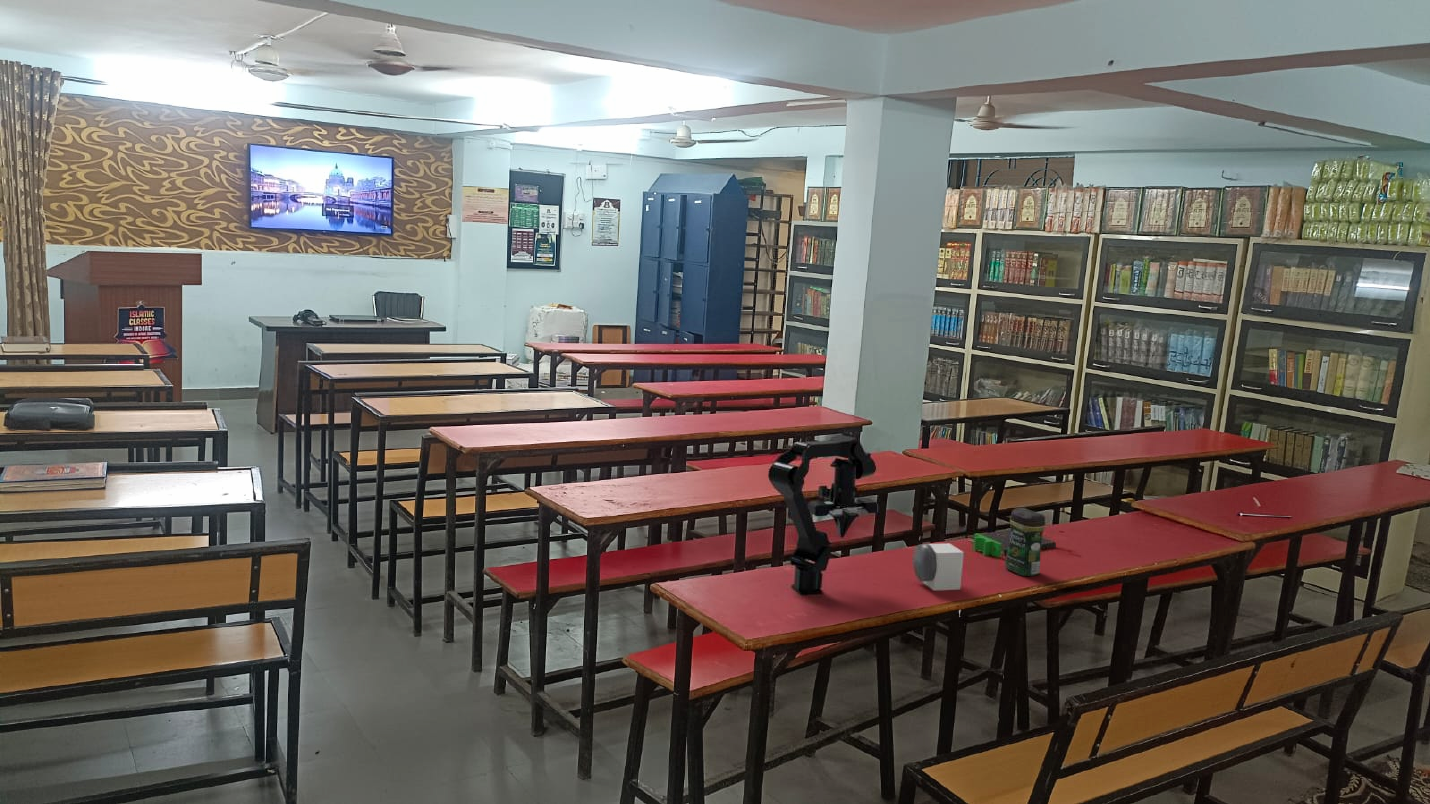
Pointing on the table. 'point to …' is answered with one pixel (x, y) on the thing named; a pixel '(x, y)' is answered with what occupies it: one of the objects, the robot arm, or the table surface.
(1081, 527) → the table surface
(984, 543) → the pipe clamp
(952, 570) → the block
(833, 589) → the table surface
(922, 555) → the knob
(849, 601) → the table surface
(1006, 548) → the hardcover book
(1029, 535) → the coffee jar
